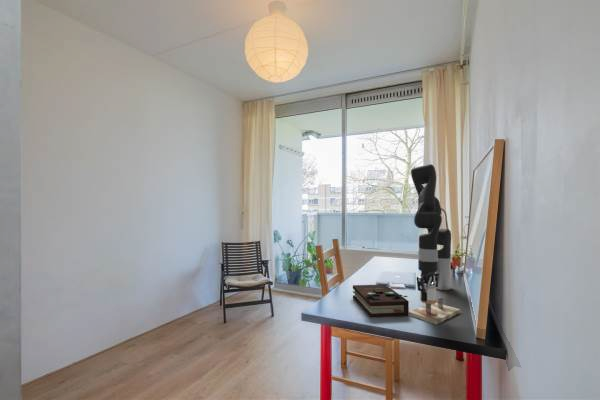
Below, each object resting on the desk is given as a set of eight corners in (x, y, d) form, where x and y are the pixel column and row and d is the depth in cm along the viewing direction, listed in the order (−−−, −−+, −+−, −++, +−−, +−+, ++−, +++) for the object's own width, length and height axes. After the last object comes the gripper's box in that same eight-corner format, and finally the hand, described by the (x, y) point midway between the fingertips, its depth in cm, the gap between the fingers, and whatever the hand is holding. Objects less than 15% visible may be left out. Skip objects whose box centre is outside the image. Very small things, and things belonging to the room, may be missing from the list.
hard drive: (387, 280, 173) (390, 286, 161) (402, 281, 172) (405, 287, 159) (387, 283, 173) (390, 289, 161) (402, 284, 172) (405, 290, 159)
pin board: (433, 304, 134) (432, 292, 134) (459, 312, 125) (459, 298, 125) (408, 315, 122) (408, 301, 122) (436, 324, 113) (436, 309, 113)
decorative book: (385, 281, 149) (414, 300, 119) (385, 296, 149) (414, 319, 119) (349, 282, 147) (369, 302, 117) (349, 297, 147) (369, 321, 117)
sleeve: (425, 298, 125) (425, 284, 125) (438, 302, 120) (438, 287, 120) (418, 301, 121) (418, 287, 121) (431, 305, 117) (431, 290, 117)
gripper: (428, 256, 128) (428, 294, 128) (410, 259, 120) (410, 300, 119) (445, 258, 122) (445, 298, 122) (427, 262, 114) (427, 305, 113)
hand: (428, 299), depth 121 cm, fingers closed on sleeve, 5 cm apart
